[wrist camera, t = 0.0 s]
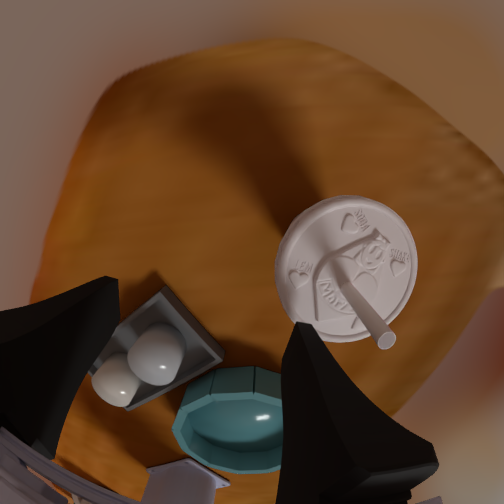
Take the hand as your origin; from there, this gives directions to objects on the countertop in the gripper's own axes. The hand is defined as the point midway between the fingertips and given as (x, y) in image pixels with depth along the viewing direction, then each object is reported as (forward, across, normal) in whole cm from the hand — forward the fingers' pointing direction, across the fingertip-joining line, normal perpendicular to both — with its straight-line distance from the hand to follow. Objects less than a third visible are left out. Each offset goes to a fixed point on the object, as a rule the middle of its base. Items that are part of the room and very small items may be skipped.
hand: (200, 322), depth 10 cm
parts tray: (+9, +6, +12) cm, 16 cm away
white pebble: (+9, +4, +10) cm, 14 cm away
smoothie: (+11, -6, -1) cm, 12 cm away
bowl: (+8, -4, +17) cm, 20 cm away
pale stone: (+8, +8, +15) cm, 18 cm away
